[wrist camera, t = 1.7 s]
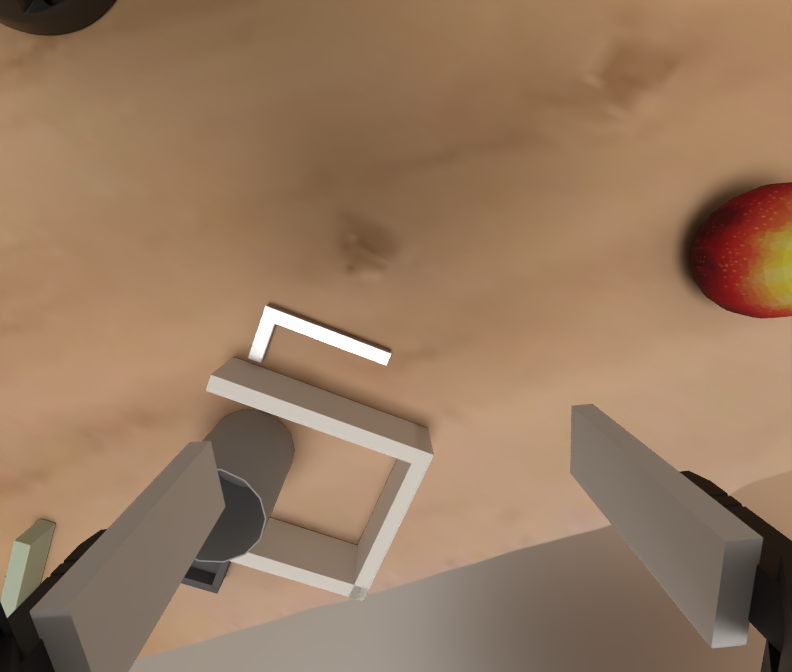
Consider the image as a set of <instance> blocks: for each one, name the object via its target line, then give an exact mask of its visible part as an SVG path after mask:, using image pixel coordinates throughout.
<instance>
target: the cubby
mask: <svg viewBox="0 0 792 672" xmlns="http://www.w3.org/2000/svg"><path fill="white" fill-rule="evenodd" d="M206 391H208V392H211V393H214V394H217V395H219V396H222V397H225V398H228V399H231V400H234V401H236V402H239V403H242V404H245V405H248V406H250V407H253V408H256V409H259V410H262V411H265V412H267V413H270V414H273V415H276V416H279V417H282V418H284V419H287V420H290V421H293V422H296V423H298V424H301V425H304V426H307V427H310V428H313V429H315V430H318V431H321V432H324V433H327V434H329V435H332V436H335V437H338V438H341V439H344V440H346V441H349V442H352V443H355V444H358V445H361V446H363V447H366V448H369V449H372V450H375V451H377V452H380V453H383V454H386V455H389V456H392V457H394V458H397V461H396V463H395V465H394V467H393V470H392V472H391V474H390V476H389V478H388V480H387V482H386V485H385V487H384V489H383V491H382V493H381V495H380V498H379V500H378V502H377V504H376V506H375V508H374V511H373V513H372V515H371V517H370V519H369V521H368V524H367V526H366V528H365V530H364V532H363V534H362V537H361V539H360V541H359V543H358V545H354V544H351V543H348V542H345V541H342V540H339V539H335V538H332V537H329V536H326V535H323V534H320V533H317V532H314V531H310V530H307V529H304V528H301V527H298V526H295V525H292V524H289V523H285V522H282V521H279V520H276V519H273V518H269V521H268V523H267V526H266V528H265V531H264V533H263V536H262V538H261V540H260V541H259V542H258V543H257V544H256V545H255V546H254V547H253V548H252V549H251V550H250V551H249V552H248V553H247V554H246V555H244V556H241V557H238V558H235V559H232V560H229V561H231V562H235V563H238V564H241V565H245V566H248V567H251V568H255V569H258V570H261V571H265V572H268V573H271V574H274V575H278V576H281V577H284V578H288V579H291V580H294V581H298V582H301V583H304V584H308V585H311V586H314V587H317V588H321V589H324V590H327V591H331V592H334V593H337V594H341V595H344V596H347V597H351V598H354V599H357V600H360V601H363V600H364V598H365V596H366V594H367V592H368V590H369V588H370V586H371V584H372V582H373V580H374V578H375V576H376V574H377V572H378V569H379V567H380V565H381V563H382V561H383V559H384V557H385V555H386V553H387V551H388V549H389V547H390V545H391V543H392V541H393V538H394V536H395V534H396V532H397V530H398V528H399V526H400V524H401V522H402V520H403V518H404V516H405V514H406V512H407V510H408V507H409V505H410V503H411V501H412V499H413V497H414V495H415V493H416V491H417V489H418V487H419V485H420V483H421V481H422V479H423V476H424V474H425V472H426V470H427V468H428V466H429V464H430V462H431V460H432V458H433V456H434V453H433V449H432V445H431V441H430V437H429V432H428V428H425V427H422V426H420V425H417V424H414V423H412V422H409V421H406V420H403V419H401V418H398V417H395V416H393V415H390V414H387V413H384V412H382V411H379V410H376V409H374V408H371V407H368V406H365V405H363V404H360V403H357V402H355V401H352V400H349V399H346V398H344V397H341V396H338V395H336V394H333V393H330V392H327V391H325V390H322V389H319V388H317V387H314V386H311V385H308V384H306V383H303V382H300V381H298V380H295V379H292V378H289V377H287V376H284V375H281V374H279V373H276V372H273V371H270V370H268V369H265V368H262V367H260V366H257V365H254V364H251V363H249V362H246V361H243V360H241V359H238V358H235V357H233V358H231V359H230V360H229V361H228V362H226V363H225V364H224V365H223V366H221V367H220V368H219V369H218V370H216V371H215V372H214V373H213V374H211V377H210V380H209V383H208V386H207V389H206Z"/></svg>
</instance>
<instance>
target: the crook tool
mask: <svg viewBox="0 0 792 672" xmlns="http://www.w3.org/2000/svg"><path fill="white" fill-rule="evenodd" d="M276 324H278V325H281V326H283V327H286V328H288V329H291V330H294V331H296V332H299V333H302V334H304V335H307V336H310V337H312V338H315V339H318V340H320V341H323V342H325V343H328V344H331V345H333V346H336V347H339V348H341V349H344V350H347V351H349V352H352V353H355V354H357V355H360V356H363V357H365V358H368V359H370V360H373V361H376V362H378V363H381V364H384V365H387V363H388V360H389V358H390V355H391V350H388V349H385V348H383V347H380V346H378V345H375V344H372V343H370V342H367V341H365V340H362V339H359V338H357V337H354V336H352V335H349V334H346V333H344V332H341V331H339V330H336V329H333V328H331V327H328V326H326V325H323V324H320V323H318V322H315V321H312V320H310V319H307V318H305V317H302V316H299V315H297V314H294V313H292V312H289V311H286V310H284V309H281V308H279V307H276V306H273V305H271V304H268V305H266V306H265V309H264V312H263V315H262V318H261V321H260V324H259V327H258V330H257V333H256V336H255V339H254V342H253V345H252V348H251V351H250V354H249V357H248V358H249V359H252V360H254V361H257V362H260V363H261V362H262V361H263V360H264V359H265V356H266V353H267V350H268V347H269V344H270V341H271V338H272V336H273V333H274V330H275V327H276Z"/></svg>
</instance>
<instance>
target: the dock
mask: <svg viewBox="0 0 792 672" xmlns="http://www.w3.org/2000/svg"><path fill="white" fill-rule="evenodd" d="M55 524H56V523H53V522H50V521H46V520H43V519H40V520H39V521H38V522H36V523H35V524H34V525H33V526H31V527H30V528H29V529H28V530H27V531H25V532H24V533H23V534H22V535H21V536H19V537H18V538H17V539H16V540H14V544H13V549H12V553H11V557H10V562H9V566H8V570H7V575H6V579H5V584H4V588H3V592H2V597H1V601H0V602H1V604H2V607H3V609H4V612H5V614H6V616H7V618H8V617H9V616H10V615H11V614H12V613H13V612H14V611H15V610H16V609H17V608H18V606H19V605H20V604H21V603H22V602H23V601H24V600H25V599H26V598H27V597H28V596H29V595H30V594H31V593H32V592H33V591H34V590H35V589H36V588H37V587H38V586H39V585H40V583H41V579H42V575H43V572H44V568H45V564H46V560H47V556H48V552H49V548H50V544H51V540H52V536H53V532H54V528H55Z"/></svg>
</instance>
